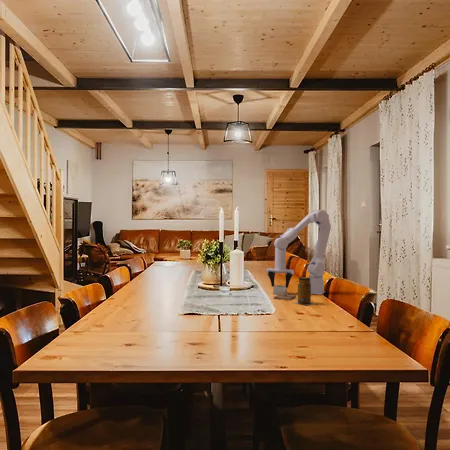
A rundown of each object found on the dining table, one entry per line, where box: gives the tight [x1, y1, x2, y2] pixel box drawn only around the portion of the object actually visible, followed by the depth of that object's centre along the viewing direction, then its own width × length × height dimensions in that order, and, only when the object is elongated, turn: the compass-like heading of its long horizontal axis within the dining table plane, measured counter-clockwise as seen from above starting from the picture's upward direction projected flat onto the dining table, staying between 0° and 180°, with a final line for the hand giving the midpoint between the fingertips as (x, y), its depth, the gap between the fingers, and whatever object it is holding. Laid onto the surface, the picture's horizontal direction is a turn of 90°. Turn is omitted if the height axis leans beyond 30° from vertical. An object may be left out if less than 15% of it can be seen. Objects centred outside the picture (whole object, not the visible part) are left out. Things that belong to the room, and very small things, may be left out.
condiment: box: [293, 276, 317, 306], centre depth 210 cm, size 7×8×12 cm
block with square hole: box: [272, 284, 287, 296], centre depth 236 cm, size 5×5×4 cm
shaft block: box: [273, 289, 297, 301], centre depth 224 cm, size 10×8×4 cm
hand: (279, 286), depth 236 cm, fingers open, 7 cm apart
